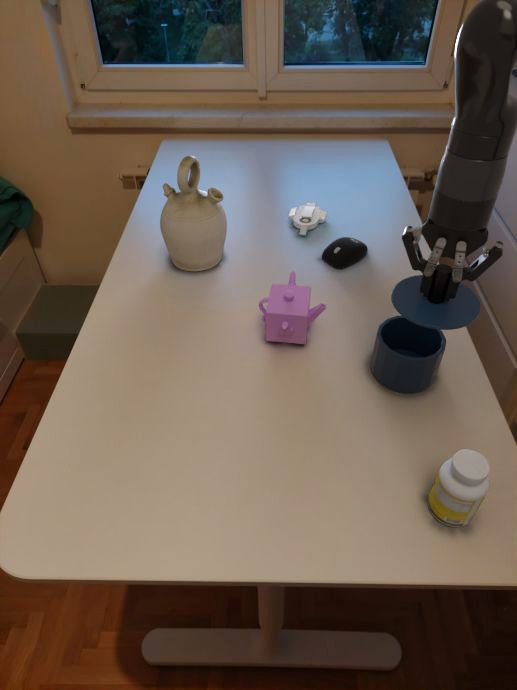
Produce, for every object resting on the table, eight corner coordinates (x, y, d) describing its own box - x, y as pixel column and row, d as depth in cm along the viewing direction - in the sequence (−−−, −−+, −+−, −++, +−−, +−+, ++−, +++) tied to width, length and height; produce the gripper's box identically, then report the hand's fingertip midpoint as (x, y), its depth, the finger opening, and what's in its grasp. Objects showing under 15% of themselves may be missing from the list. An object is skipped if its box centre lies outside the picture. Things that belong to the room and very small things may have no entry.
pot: (438, 357, 97) (449, 323, 91) (430, 401, 89) (442, 367, 83) (377, 342, 100) (384, 309, 94) (364, 383, 92) (371, 350, 86)
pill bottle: (463, 487, 76) (486, 441, 68) (479, 527, 72) (506, 483, 64) (421, 489, 76) (439, 444, 68) (434, 530, 71) (456, 486, 63)
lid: (481, 290, 78) (494, 253, 74) (475, 342, 69) (489, 304, 65) (398, 273, 82) (406, 238, 77) (382, 321, 73) (389, 284, 68)
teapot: (321, 366, 95) (325, 327, 89) (252, 359, 97) (251, 321, 90) (325, 306, 108) (329, 269, 102) (264, 302, 110) (264, 264, 103)
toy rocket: (294, 205, 142) (294, 197, 140) (328, 209, 140) (329, 201, 138) (283, 234, 130) (283, 226, 129) (320, 238, 129) (320, 230, 127)
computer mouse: (374, 254, 123) (377, 240, 120) (339, 272, 118) (341, 257, 115) (352, 241, 127) (354, 227, 125) (317, 258, 122) (319, 244, 119)
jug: (241, 253, 124) (237, 153, 107) (199, 283, 115) (188, 179, 98) (195, 234, 131) (185, 137, 113) (152, 261, 122) (134, 160, 104)
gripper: (405, 189, 62) (384, 300, 74) (527, 207, 58) (484, 322, 70) (415, 165, 67) (394, 273, 79) (527, 180, 63) (487, 291, 75)
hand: (436, 295), depth 74 cm, fingers closed on lid, 2 cm apart
